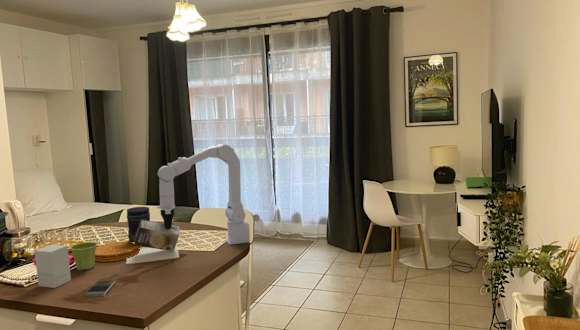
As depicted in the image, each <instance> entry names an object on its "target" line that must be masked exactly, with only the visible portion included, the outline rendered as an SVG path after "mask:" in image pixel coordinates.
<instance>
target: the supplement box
mask: <svg viewBox="0 0 580 330" xmlns="http://www.w3.org/2000/svg"><path fill="white" fill-rule="evenodd" d="M69 257H70V256H69V248H68V245H59V244H50V245H47V246H44V247H42V248H38V249H36V250H35V251H34V258H35V265H36V266H35V267H36V268H35V269H36V275H37V285H38V287H42V288H52V289H55V288H57V287H60V286H62V285H64V284H66V283H68V282H71V281H72V277H71V268H70V259H69Z"/></svg>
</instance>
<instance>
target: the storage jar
mask: <svg viewBox="0 0 580 330" xmlns="http://www.w3.org/2000/svg"><path fill="white" fill-rule="evenodd" d="M126 219H127V221H126V222H127V223H128V225H127V227H128V231H127V233H128V237H127V238H128V242H129V241H130V242H135V236H136V232H137V229H138V226H139V223H140V220H145V221H151V213H150V207H148V206H135V207H130V208H127V209H126Z"/></svg>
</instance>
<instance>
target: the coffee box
mask: <svg viewBox="0 0 580 330" xmlns="http://www.w3.org/2000/svg"><path fill="white" fill-rule="evenodd" d="M179 239H180V226H178V225H173V224H172V227H171V229H165V225H164V223H162V222H161V223H160V222H156V221H151V220H150V221H145V220H140V223H139V226H138V229H137V232H136V236H135V244H133V245H134V246H135V247H137V246H138V247H142V248H155V249H161V250H167V251H174V249H175V246H176V244H178V240H179Z"/></svg>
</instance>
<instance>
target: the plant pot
mask: <svg viewBox="0 0 580 330" xmlns="http://www.w3.org/2000/svg"><path fill="white" fill-rule="evenodd" d="M97 246H98V243H97V242H96V241H95V242H94V241H87V242H86V241H85V242H80V243H76V244H72V245H71V246H69V249H70V251H71V253H72V255H73V259H74V262H75V263H74V264H75V267H76V270H77V271H84V270H91V269H92V268H94V267H95V262H96V250H97Z"/></svg>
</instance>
